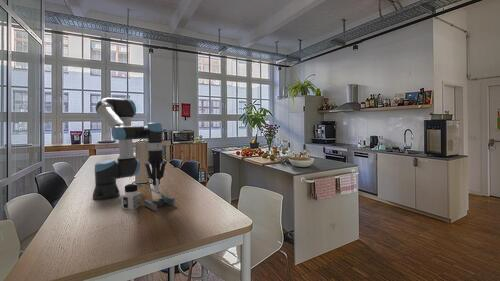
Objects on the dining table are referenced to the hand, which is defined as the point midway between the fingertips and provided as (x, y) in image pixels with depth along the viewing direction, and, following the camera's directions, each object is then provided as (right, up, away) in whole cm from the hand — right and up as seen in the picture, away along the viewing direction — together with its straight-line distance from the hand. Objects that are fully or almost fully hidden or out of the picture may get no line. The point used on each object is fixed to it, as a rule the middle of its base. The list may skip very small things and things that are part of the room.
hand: (156, 190), depth 140 cm
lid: (+2, -3, +2) cm, 4 cm away
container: (-14, -10, 0) cm, 17 cm away
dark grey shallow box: (+1, -9, +2) cm, 10 cm away
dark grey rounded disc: (0, -9, +3) cm, 10 cm away
